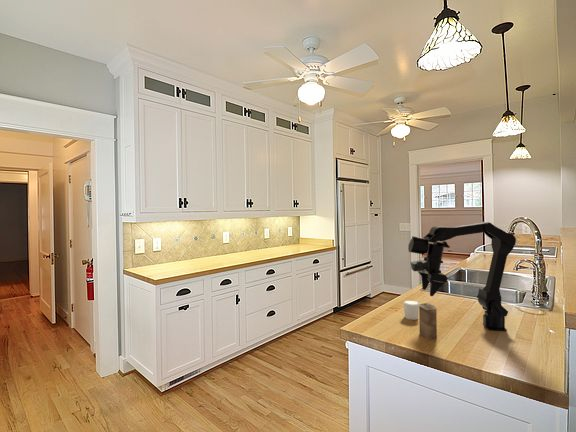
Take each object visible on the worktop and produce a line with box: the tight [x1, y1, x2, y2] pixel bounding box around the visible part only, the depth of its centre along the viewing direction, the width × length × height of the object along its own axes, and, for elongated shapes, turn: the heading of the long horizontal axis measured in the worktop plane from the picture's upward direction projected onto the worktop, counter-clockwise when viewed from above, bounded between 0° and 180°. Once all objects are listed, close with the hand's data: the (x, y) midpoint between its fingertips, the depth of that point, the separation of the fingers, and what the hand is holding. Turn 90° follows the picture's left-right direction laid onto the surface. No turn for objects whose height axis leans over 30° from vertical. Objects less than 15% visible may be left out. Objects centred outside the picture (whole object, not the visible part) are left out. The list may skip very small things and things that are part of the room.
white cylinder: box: [402, 299, 420, 321], centre depth 139 cm, size 7×7×7 cm
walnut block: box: [418, 302, 438, 340], centre depth 120 cm, size 4×5×12 cm
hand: (427, 292), depth 128 cm, fingers open, 9 cm apart
